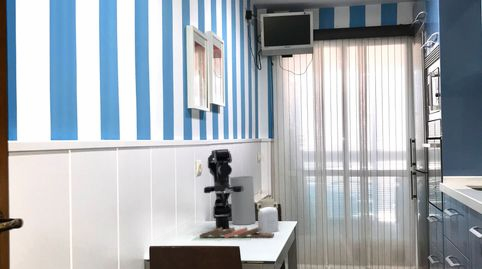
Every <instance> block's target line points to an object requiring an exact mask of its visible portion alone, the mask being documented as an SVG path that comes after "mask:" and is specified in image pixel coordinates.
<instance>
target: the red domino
mask: <svg viewBox="0 0 482 269" xmlns="http://www.w3.org/2000/svg"><path fill="white" fill-rule="evenodd" d="M246 231H248V228H247V227H246V226H245V227H241V228H239V229H235V231H233V232H232V233H229V234H225V235H224V237H225V238H228V237H231V236H235V235H238V234H242V233H245V232H246Z"/></svg>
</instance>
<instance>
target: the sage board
mask: <svg viewBox="0 0 482 269" xmlns="http://www.w3.org/2000/svg"><path fill="white" fill-rule="evenodd" d="M252 239H253V238H250V235H247V236H244V237H241V238H238V235H235V236H231V237H228V238H225V237H224V235H222V236H219V237H216V238H212V236H211V235H210V236H207V237H204V238H200V236H199V235H197V236H196V237H194V238H193V239H191V241H251V240H252Z"/></svg>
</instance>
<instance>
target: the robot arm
mask: <svg viewBox="0 0 482 269" xmlns="http://www.w3.org/2000/svg"><path fill="white" fill-rule="evenodd" d="M232 161H233V157H232V154H231V151H230V150H229V149H228V148H223V149H222V148H221V149H213V150H211V153H210V155H209V156H208V158H207V169H209V173H210V174H211V175H212V177H213V178H212V179H213V183H214V184H213V186H212V185H211V186H205V187H204V188H203V193H204V194H211V193H213V192H215V193H214V194H215V200H214V205H213V208H212V217H213V218H212V219H215V228H214V229H218V228H221V227H222V229H223V230H226V229H229V228H230V220H229V218H232V206H231V204H229V199H230V197H231V193H232V191H234V192H242V191H244V188H243V186H242V185H235V186H233V187H230V175H231V174H232V172H233V169H232V166H231V165H230V164H231V163H232Z"/></svg>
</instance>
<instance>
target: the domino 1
mask: <svg viewBox="0 0 482 269" xmlns="http://www.w3.org/2000/svg"><path fill="white" fill-rule="evenodd" d="M221 231H223V229H222V227H221V228H218V229H215V228H213V229H211V230H208V231H206V232H202V233H200V234H199V235H198V236H200V238H204V237H207V236H210V235H213V234H217V233H220V232H221Z"/></svg>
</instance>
